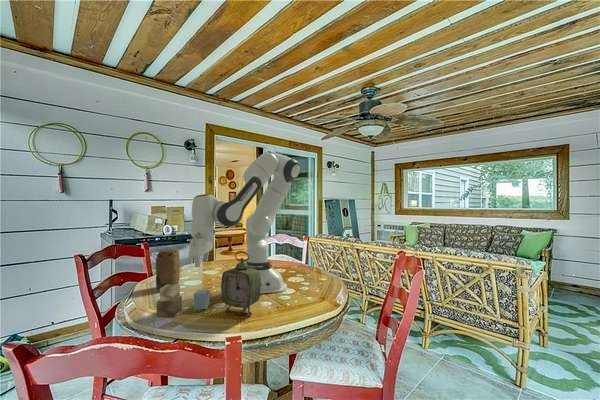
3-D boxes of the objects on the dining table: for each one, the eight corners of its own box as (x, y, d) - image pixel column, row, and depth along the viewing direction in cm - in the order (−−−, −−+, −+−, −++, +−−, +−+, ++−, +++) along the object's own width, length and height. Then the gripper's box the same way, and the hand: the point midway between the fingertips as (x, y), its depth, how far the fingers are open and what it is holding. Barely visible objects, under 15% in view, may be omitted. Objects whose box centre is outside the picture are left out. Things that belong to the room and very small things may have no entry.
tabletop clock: (221, 312, 115) (221, 251, 115) (234, 305, 123) (234, 248, 123) (250, 318, 109) (251, 254, 109) (263, 310, 118) (263, 250, 118)
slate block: (209, 305, 123) (209, 289, 123) (205, 310, 118) (205, 293, 118) (198, 305, 123) (198, 289, 123) (193, 310, 118) (193, 293, 118)
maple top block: (179, 296, 117) (179, 284, 117) (173, 301, 111) (173, 288, 111) (166, 296, 117) (166, 284, 117) (159, 301, 111) (159, 288, 111)
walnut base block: (181, 310, 118) (181, 296, 118) (174, 317, 111) (174, 302, 111) (164, 310, 117) (165, 296, 117) (156, 317, 110) (156, 302, 110)
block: (180, 285, 150) (181, 248, 150) (173, 290, 143) (174, 251, 143) (161, 285, 151) (161, 248, 151) (153, 290, 143) (153, 250, 143)
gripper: (201, 234, 110) (200, 270, 110) (216, 229, 130) (215, 259, 130) (185, 234, 110) (184, 270, 110) (202, 229, 130) (201, 259, 130)
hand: (201, 264), depth 120 cm, fingers open, 8 cm apart
